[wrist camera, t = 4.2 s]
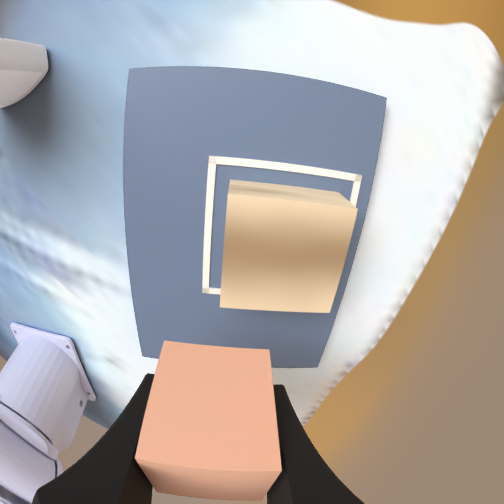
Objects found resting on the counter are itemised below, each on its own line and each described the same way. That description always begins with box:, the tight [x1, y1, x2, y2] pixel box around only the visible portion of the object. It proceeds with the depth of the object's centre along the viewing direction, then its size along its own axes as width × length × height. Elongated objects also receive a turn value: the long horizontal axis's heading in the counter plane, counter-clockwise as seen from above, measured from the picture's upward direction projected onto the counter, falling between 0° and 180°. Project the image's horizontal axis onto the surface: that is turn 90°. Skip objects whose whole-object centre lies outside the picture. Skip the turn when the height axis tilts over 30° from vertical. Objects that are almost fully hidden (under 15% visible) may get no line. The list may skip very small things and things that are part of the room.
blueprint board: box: [123, 66, 387, 368], centre depth 17 cm, size 20×14×1 cm
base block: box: [220, 180, 358, 313], centre depth 15 cm, size 6×6×3 cm
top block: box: [135, 340, 282, 500], centre depth 9 cm, size 4×4×5 cm
